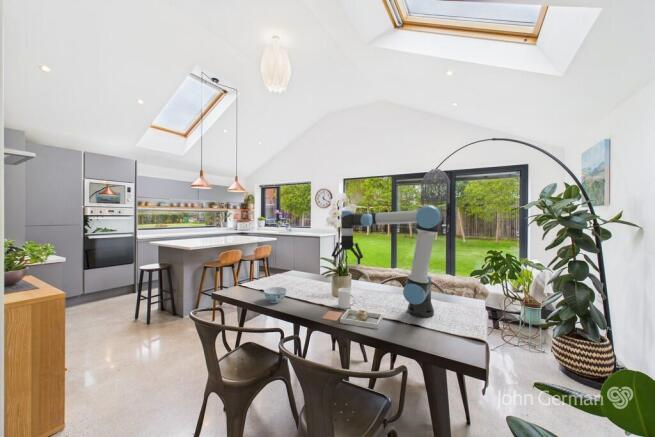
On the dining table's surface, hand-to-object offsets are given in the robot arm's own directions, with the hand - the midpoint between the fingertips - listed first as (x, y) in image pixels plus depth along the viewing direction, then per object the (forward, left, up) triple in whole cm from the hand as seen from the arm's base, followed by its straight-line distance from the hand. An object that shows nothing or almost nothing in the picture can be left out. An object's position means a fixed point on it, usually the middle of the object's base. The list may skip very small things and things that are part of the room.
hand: (347, 268), depth 173 cm
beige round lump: (-14, +17, -25) cm, 33 cm away
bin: (-14, +17, -25) cm, 33 cm away
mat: (+4, +17, -25) cm, 30 cm away
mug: (0, 0, -25) cm, 25 cm away
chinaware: (+48, +8, -25) cm, 55 cm away
